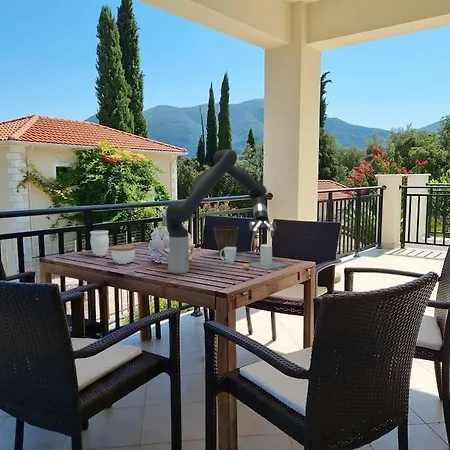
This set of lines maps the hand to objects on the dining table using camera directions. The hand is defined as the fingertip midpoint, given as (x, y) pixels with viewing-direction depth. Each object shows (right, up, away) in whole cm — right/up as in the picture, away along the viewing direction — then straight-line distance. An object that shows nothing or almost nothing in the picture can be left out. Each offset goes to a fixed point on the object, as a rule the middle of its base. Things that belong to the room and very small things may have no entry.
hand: (264, 237), depth 222 cm
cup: (-19, -14, +4) cm, 24 cm away
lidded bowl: (-75, -14, +5) cm, 77 cm away
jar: (-94, -12, +27) cm, 99 cm away
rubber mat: (+1, -14, -6) cm, 15 cm away
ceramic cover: (0, -14, -6) cm, 15 cm away
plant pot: (-20, -11, +29) cm, 37 cm away
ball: (-10, -15, -14) cm, 23 cm away
